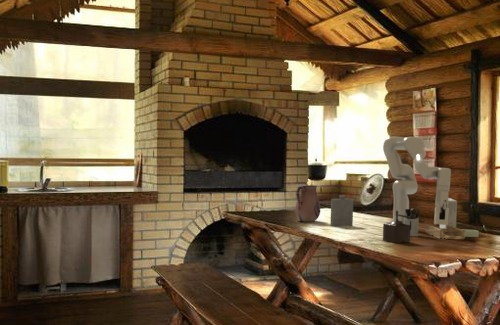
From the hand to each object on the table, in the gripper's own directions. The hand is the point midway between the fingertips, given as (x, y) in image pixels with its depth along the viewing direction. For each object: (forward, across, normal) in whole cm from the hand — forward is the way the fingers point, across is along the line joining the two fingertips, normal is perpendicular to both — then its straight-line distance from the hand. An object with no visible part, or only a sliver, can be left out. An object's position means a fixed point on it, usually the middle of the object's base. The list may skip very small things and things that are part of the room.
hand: (441, 218), depth 339 cm
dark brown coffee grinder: (+9, +36, -33) cm, 50 cm away
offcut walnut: (+7, +10, +1) cm, 13 cm away
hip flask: (+12, -32, -54) cm, 64 cm away
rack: (+9, +6, +1) cm, 11 cm away
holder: (+9, +2, +15) cm, 18 cm away
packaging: (+10, -24, +13) cm, 30 cm away
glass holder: (+10, +8, -21) cm, 25 cm away
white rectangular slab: (+3, 0, 0) cm, 3 cm away
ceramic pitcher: (+13, -52, -75) cm, 92 cm away
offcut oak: (+10, +10, +1) cm, 14 cm away
